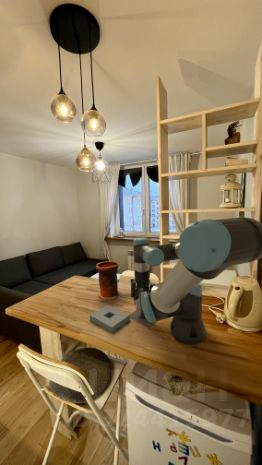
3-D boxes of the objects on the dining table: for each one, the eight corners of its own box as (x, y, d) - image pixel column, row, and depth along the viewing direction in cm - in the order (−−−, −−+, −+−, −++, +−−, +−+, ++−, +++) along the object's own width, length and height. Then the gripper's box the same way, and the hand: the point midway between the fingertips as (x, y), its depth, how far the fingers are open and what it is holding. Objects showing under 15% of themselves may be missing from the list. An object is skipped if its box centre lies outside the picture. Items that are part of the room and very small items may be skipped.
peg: (147, 316, 98) (147, 294, 97) (144, 319, 96) (143, 296, 94) (143, 314, 100) (142, 292, 99) (139, 317, 98) (138, 295, 96)
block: (129, 320, 97) (129, 315, 96) (112, 333, 88) (111, 327, 87) (107, 310, 107) (107, 305, 106) (90, 320, 98) (89, 315, 98)
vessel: (94, 291, 130) (93, 262, 127) (114, 287, 136) (114, 259, 133) (100, 301, 117) (99, 269, 114) (122, 296, 123) (122, 265, 120)
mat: (160, 318, 98) (160, 317, 98) (149, 328, 90) (149, 327, 90) (138, 309, 107) (138, 308, 107) (126, 317, 99) (126, 316, 99)
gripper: (163, 271, 91) (164, 316, 95) (131, 264, 104) (133, 304, 107) (154, 276, 86) (155, 324, 89) (122, 267, 98) (124, 310, 102)
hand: (143, 313), depth 98 cm, fingers open, 6 cm apart
